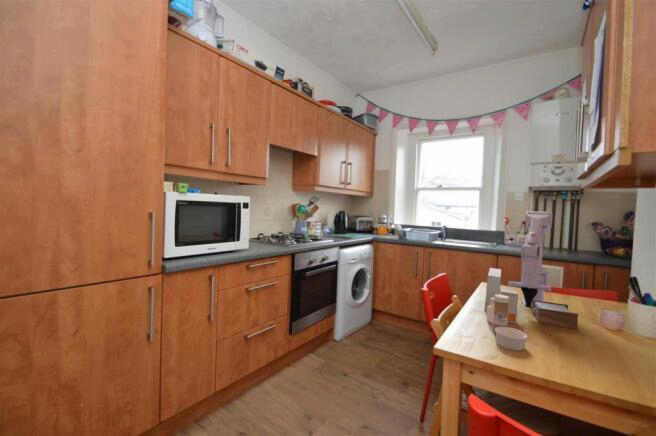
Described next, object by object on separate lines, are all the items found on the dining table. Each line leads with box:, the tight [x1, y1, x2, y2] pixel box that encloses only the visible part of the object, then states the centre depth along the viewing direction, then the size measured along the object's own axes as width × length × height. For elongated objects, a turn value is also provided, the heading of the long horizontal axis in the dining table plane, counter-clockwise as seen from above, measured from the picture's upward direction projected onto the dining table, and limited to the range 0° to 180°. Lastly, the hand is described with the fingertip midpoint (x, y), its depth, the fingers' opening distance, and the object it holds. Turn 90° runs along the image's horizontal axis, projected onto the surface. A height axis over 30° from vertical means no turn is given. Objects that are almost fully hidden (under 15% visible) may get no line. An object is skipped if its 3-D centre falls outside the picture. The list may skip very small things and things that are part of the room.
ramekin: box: [495, 326, 528, 352], centre depth 95 cm, size 9×9×4 cm
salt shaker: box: [486, 298, 495, 325], centre depth 113 cm, size 4×4×10 cm
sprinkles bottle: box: [492, 294, 509, 334], centre depth 104 cm, size 5×5×13 cm
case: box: [531, 300, 579, 330], centre depth 117 cm, size 12×12×6 cm
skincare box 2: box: [500, 288, 519, 325], centre depth 116 cm, size 6×4×12 cm
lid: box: [534, 302, 572, 313], centre depth 117 cm, size 10×10×2 cm
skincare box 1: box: [483, 267, 502, 312], centre depth 134 cm, size 21×6×16 cm, turn 148°
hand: (528, 305), depth 121 cm, fingers closed
